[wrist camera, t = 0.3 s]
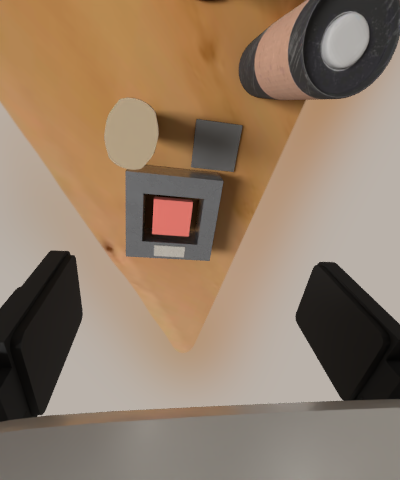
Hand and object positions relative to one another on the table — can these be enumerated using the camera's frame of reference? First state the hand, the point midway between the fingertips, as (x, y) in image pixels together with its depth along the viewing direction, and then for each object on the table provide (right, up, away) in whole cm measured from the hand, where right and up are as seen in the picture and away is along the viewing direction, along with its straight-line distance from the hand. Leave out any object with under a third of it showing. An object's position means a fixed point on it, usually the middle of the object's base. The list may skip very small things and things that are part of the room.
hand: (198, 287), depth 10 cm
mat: (+3, +17, +30) cm, 34 cm away
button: (-5, +6, +32) cm, 33 cm away
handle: (-8, +19, +28) cm, 35 cm away
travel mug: (+9, +26, +26) cm, 38 cm away
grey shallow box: (-5, +7, +34) cm, 35 cm away
